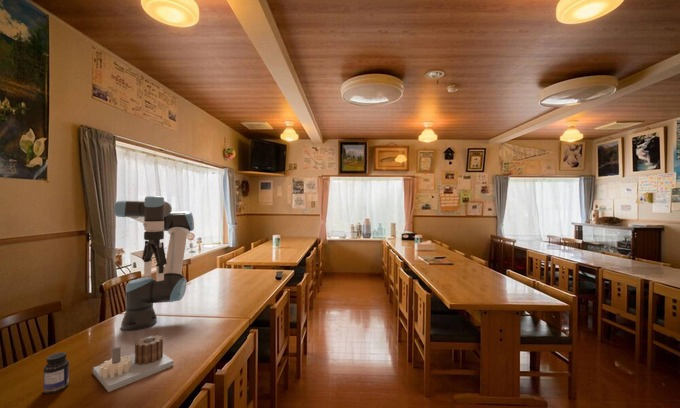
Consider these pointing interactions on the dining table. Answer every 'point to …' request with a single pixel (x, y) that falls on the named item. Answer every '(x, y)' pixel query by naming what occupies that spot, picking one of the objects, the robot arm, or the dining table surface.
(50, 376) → the pill bottle
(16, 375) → the dining table surface
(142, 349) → the walnut gear
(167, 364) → the gear board
